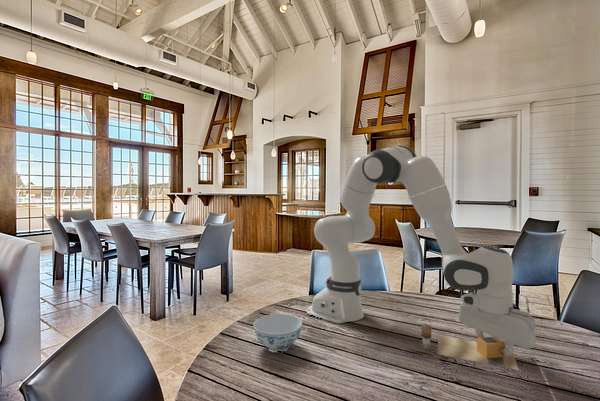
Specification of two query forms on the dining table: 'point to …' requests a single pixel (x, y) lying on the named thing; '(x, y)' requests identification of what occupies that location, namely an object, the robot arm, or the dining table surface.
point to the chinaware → (277, 331)
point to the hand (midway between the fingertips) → (494, 349)
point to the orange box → (490, 347)
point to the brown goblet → (426, 336)
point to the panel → (471, 352)
